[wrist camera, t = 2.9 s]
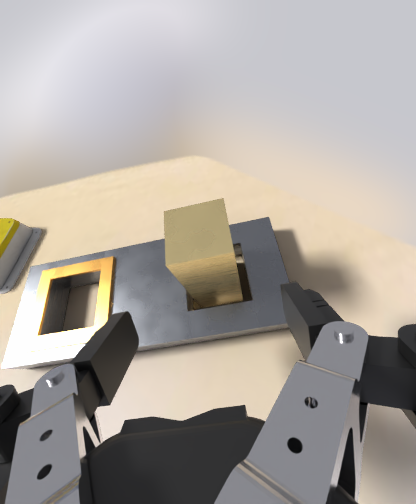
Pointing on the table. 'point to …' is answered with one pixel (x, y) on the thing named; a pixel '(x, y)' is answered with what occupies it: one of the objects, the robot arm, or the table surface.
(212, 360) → the table surface
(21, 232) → the emergency button
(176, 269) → the brass peg
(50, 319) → the peg board
